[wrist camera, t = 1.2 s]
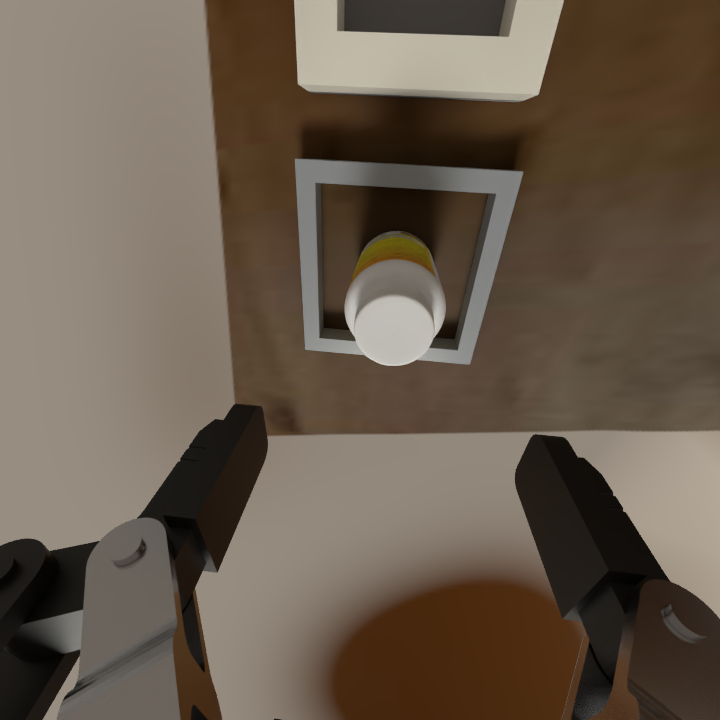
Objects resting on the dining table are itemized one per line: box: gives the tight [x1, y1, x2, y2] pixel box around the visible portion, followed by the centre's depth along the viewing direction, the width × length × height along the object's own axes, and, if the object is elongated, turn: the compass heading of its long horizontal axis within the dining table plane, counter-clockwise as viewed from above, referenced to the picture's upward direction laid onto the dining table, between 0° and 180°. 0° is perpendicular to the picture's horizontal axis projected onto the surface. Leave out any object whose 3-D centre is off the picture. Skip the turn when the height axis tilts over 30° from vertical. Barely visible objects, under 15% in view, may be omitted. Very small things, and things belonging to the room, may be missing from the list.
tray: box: [295, 158, 523, 365], centre depth 23 cm, size 13×13×2 cm
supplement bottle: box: [345, 231, 446, 366], centre depth 20 cm, size 6×6×10 cm
